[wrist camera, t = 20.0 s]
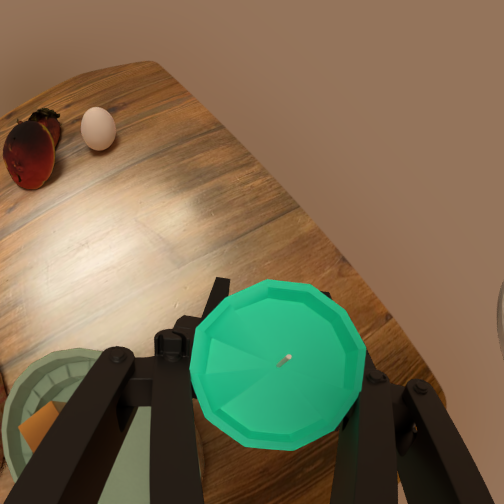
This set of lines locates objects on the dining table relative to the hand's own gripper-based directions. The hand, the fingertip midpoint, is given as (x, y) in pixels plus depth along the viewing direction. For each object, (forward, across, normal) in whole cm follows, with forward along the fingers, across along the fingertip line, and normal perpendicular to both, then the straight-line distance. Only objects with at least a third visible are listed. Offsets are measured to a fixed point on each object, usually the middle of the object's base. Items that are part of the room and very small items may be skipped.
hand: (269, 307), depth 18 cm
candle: (0, 0, -6) cm, 6 cm away
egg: (+31, -26, +7) cm, 41 cm away
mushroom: (+29, -39, +5) cm, 49 cm away
